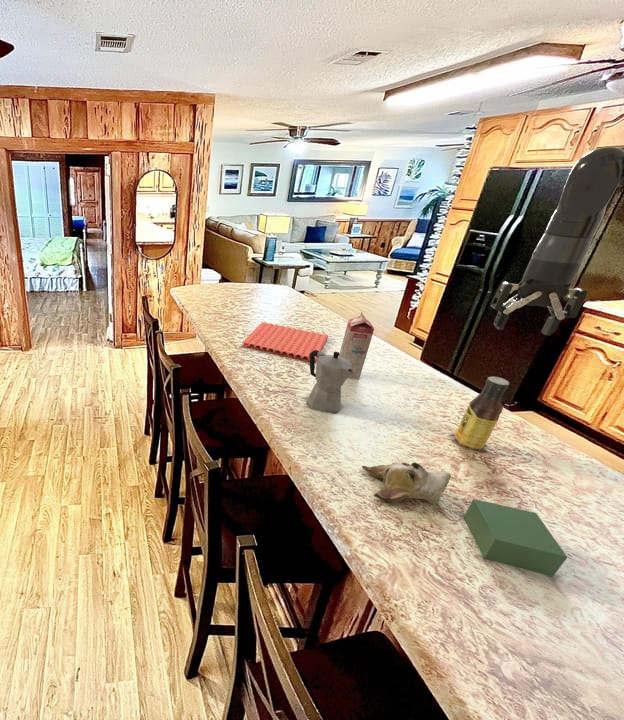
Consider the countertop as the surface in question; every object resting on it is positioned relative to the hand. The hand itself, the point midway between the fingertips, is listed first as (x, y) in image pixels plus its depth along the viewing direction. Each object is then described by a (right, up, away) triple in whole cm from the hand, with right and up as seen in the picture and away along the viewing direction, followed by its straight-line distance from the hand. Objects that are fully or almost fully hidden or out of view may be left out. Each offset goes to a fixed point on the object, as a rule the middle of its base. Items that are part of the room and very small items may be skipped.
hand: (521, 331), depth 86 cm
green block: (-17, -42, -14) cm, 47 cm away
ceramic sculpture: (-28, -36, -1) cm, 46 cm away
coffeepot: (-31, -20, +31) cm, 48 cm away
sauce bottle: (-1, -29, +14) cm, 32 cm away
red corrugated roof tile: (-26, +1, +73) cm, 78 cm away
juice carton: (-13, -11, +49) cm, 52 cm away
